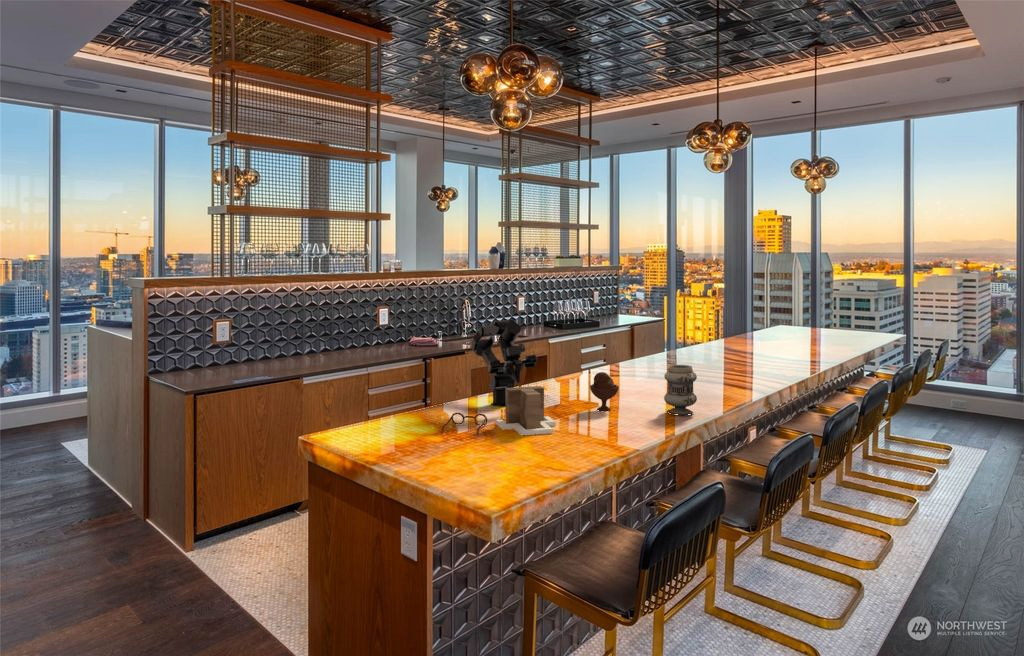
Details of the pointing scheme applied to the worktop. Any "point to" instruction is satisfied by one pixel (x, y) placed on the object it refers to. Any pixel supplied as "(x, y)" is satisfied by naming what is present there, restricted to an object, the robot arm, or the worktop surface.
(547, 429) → the t outline
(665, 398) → the apothecary jar
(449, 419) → the glasses
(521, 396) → the t block
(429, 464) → the worktop surface
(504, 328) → the robot arm
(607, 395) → the ice cream bowl
